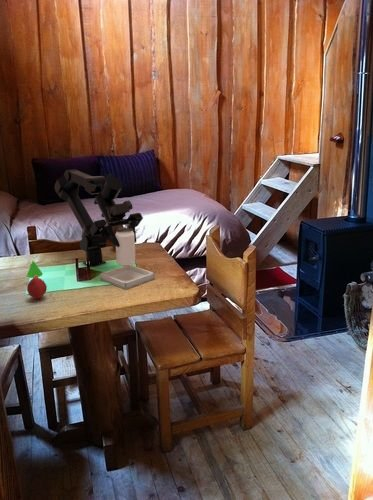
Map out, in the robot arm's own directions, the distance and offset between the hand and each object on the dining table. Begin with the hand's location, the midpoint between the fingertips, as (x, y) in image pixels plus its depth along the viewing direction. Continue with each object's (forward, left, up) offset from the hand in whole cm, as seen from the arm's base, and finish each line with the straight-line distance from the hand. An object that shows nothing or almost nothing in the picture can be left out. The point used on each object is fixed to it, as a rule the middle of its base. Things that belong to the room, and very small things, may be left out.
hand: (127, 244), depth 157 cm
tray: (-1, 0, -13) cm, 13 cm away
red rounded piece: (-9, -30, -13) cm, 34 cm away
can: (-1, 0, -7) cm, 7 cm away
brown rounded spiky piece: (-30, +19, -13) cm, 38 cm away
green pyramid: (-30, -20, -14) cm, 39 cm away
